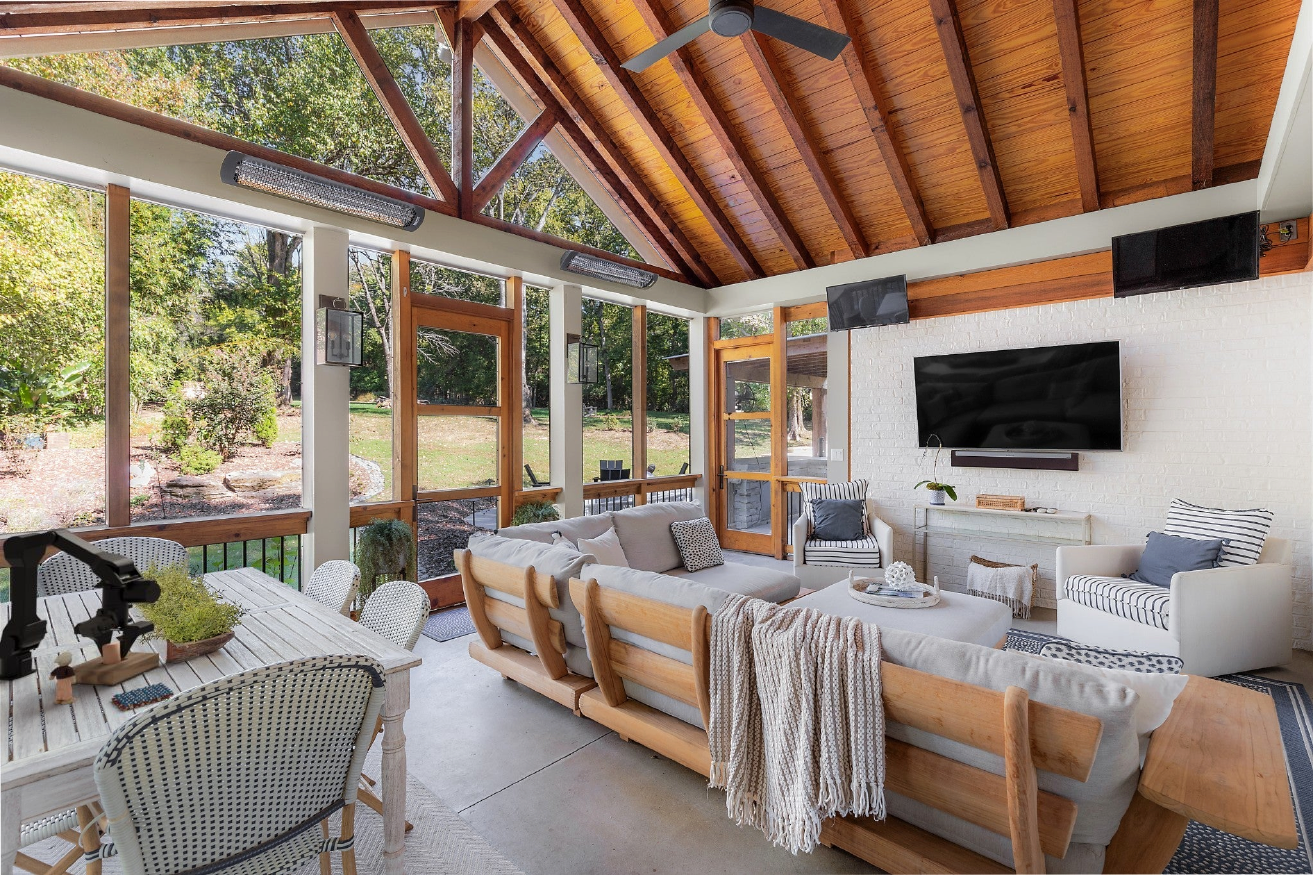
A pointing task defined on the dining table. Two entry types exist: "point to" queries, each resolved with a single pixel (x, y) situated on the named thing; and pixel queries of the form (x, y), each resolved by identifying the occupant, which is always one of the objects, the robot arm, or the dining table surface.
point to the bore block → (114, 669)
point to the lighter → (178, 654)
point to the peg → (111, 653)
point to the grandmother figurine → (63, 678)
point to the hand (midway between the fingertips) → (113, 657)
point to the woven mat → (141, 696)
